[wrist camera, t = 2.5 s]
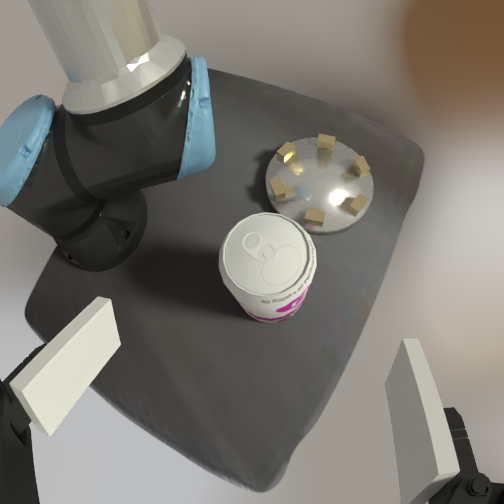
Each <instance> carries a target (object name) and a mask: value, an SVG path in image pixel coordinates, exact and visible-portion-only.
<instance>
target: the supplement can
mask: <svg viewBox="0 0 504 504" xmlns="http://www.w3.org/2000/svg"><path fill="white" fill-rule="evenodd" d="M315 269H316V249H315V247H314V245H313V242H312V240H311V238H310V235H309V234H308V233H307V232H306V231H305V230H304V229H303V228H302V227H301V226H300V225H299V224H298V223H297V222H295V221H293V220H291V219H289V218H287V217H285V216H283V215H281V214H275V213H268V212H265V213H260V214H254V215H251V216H249V217H247V218H245V219H244V220H242V221H240V222H239V223H238V224H236V225H235V226H234V228H233V229H232V230H231V231H230V232H229V233H228V234H227V235H226V237H225V239H224V241H223V244H222V246H221V248H220V251H219V270H220V273H221V276H222V279H223V282H224V284H225V285H226V286H227V288H228V289H229V290H230V292H231V293H232V294H233V296H234V297H235V298H236V300H237V301H238V302H239V304H240V305H241V306H242V307H243V309H244V310H245V311H246V312H247V313H248V315H250V316H251V317H253V318H255V319H256V320H258V321H261V322H267V323H275V322H280V321H284V320H286V319H287V318H289V317H291V316H292V315H294V314H295V312H296V311H297V310H298V309H299V307H300V306H301V304H302V302H303V300H304V298H305V295H306V293H307V291H308V288H309V286H310V284H311V281H312V278H313V275H314V272H315Z"/></svg>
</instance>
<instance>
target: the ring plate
mask: <svg viewBox="0 0 504 504" xmlns="http://www.w3.org/2000/svg"><path fill="white" fill-rule="evenodd" d="M266 191H267V196H268V199H269V202H270V204H271V206H272V208H273V209H274V211H275V212H276V213H277V214H281V215H283V216H285V217H287V218H289V219H291V220H293V221H295V222H297V223H298V224H299V225H300V226H301V227H302V228H303V229H304V230H305V231H306V232H307V233H310V234H316V235H330V234H336V233H340V232H342V231H345V230H347V229H349V228H351V227H352V226H354V225H355V224H356V223H358V222H359V220H360V219H361V218H362V217H363V216H364V214H365V213H366V211H367V209H368V207H369V205H370V203H371V200H372V196H373V181H372V176H371V173H370V168H369V166H368V164H367V162H366V161H365V159H364V157H363V156H359V155H358V154H357V153H356V152H354V151H353V150H352V149H351V148H349V147H347V146H346V145H344V144H342V143H340V142H337V141H335V137H334V136H328V135H323V134H319V138H315V137H313V138H304V139H300V140H296V141H294V142H291V143H289V142H287V143H285V144H284V145H283V146H282V147H281V148H280V149H279V150H278V151H277V153H276V154H275V155H274V157H273V158H272V159H271V161H270V163H269V165H268V168H267V172H266Z"/></svg>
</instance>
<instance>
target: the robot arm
mask: <svg viewBox="0 0 504 504" xmlns="http://www.w3.org/2000/svg"><path fill="white" fill-rule="evenodd" d="M28 1H29V3H30V5H31V8H32V9H33V12H34V14H35V16H36V18H37V20H38V22H39V24H40V26H41V28H42V30H43V32H44V34H45V36H46V38H47V40H48V42H49V44H50V46H51V48H52V49H53V51H54V53H55V55H56V57H57V59H58V61H59V63H60V64H61V66H62V68H63V70H64V72H65V74H66V75H67V77H68V82H67V85H66V88H65V91H64V94H63V97H62V104H61V105H59V106H56V105H55V102H54V100H53V99H52V98H49V97H47V96H46V95H45V96H44V95H36V96H33V97H31V98H29V99H27V100H26V101H25V102H23V103H22V104H21V105H20V106H18V107H17V108H16V109H15V110H14V111H13V112H12V113H11V114H10V115H9V117H8V118H7V119H6V120H5V122H4V123H3V124H2V126H1V127H0V205H1V206H3V207H7V208H8V209H10V210H12V211H13V212H14V213H16V214H17V215H19V216H21V217H22V218H24V219H25V220H27V221H28V222H30V223H31V224H33V225H34V226H36V227H37V228H39V229H41V230H42V231H44V232H45V233H47V234H49V235H50V236H52V237H53V239H54V240H55V242H56V243H57V245H58V246H59V248H60V249H61V251H62V252H63V254H64V255H65V257H66V258H67V259H68V260H69V261H71V262H72V263H73V264H75V265H77V266H79V267H81V268H83V269H85V270H88V271H104V270H107V269H110V268H112V267H114V266H116V265H118V264H119V263H121V262H122V261H124V260H125V259H126V258H127V257H128V256H129V255H130V254H131V253H132V252H133V250H134V249H135V248H136V246H137V245H138V243H139V241H140V240H141V238H142V235H143V233H144V230H145V226H146V222H147V206H146V202H145V199H144V196H143V194H142V193H141V191H140V190H139V189H142V188H146V187H150V186H154V185H158V184H162V183H166V182H170V181H174V180H180V179H181V178H182V177H185V176H188V175H191V174H194V173H198V172H201V171H204V170H206V169H207V168H208V167H209V166H211V164H212V163H213V161H214V159H215V154H216V150H215V136H214V126H213V116H212V108H211V103H210V102H211V99H210V88H209V80H208V72H207V65H206V61H205V59H204V58H203V57H195V56H190V57H189V58H187V54H186V51H185V47H184V45H183V43H182V42H181V41H180V40H178V39H176V38H173V37H170V36H168V35H165V34H163V33H162V32H161V31H160V28H159V25H158V22H157V18H156V15H155V13H154V9H153V6H152V3H151V0H28ZM120 345H121V343H120V339H119V335H118V331H117V326H116V322H115V317H114V313H113V308H112V303H111V299H107V298H103V297H97V298H96V299H95V300H94V301H93V302H92V303H91V304H90V305H88V306H87V307H86V308H85V309H84V310H83V311H82V312H81V313H80V314H79V315H78V316H77V317H76V318H74V319H73V320H72V321H71V322H70V323H69V324H68V325H67V326H66V327H65V328H64V329H63V330H62V331H61V332H60V333H59V334H58V335H57V336H56V337H55V338H54V339H53V340H52V341H51V342H50V343H48V344H46V343H45V344H43V345H41V346H39V347H37V348H36V349H35V350H34V351H33V352H32V353H31V354H30V355H29V357H26V359H24V361H23V363H21V364H20V365H19V366H18V367H17V368H16V369H15V370H14V371H13V372H12V373H11V374H10V375H9V376H8V377H7V378H6V379H5V380H4V381H3V382H2V381H1V380H0V504H40V502H39V496H38V490H37V484H36V477H35V470H34V462H33V453H32V440H31V430H30V427H29V424H30V422H31V421H32V422H33V424H34V425H35V427H36V428H37V430H39V431H41V432H42V433H44V434H46V435H47V436H49V437H51V435H52V434H53V432H54V431H55V430H56V428H57V427H58V426H59V424H60V423H61V422H62V420H63V419H64V417H65V416H66V415H67V414H68V412H69V411H70V410H71V408H72V407H73V406H74V404H75V403H76V402H77V400H78V399H79V398H80V396H81V395H82V394H83V392H84V391H85V390H86V388H87V387H88V386H89V385H90V383H91V382H92V381H93V379H94V378H95V377H96V375H97V374H98V373H99V372H100V370H101V369H102V368H103V367H104V365H105V364H106V363H107V361H108V360H109V359H110V358H111V356H112V355H113V354H114V353H115V351H116V350H117V349H118V348H119V346H120ZM385 388H386V393H387V399H388V405H389V410H390V416H391V423H392V429H393V435H394V443H395V450H396V458H397V467H398V476H399V486H400V497H401V504H425V503H426V502H427V501H429V504H504V484H502V483H493V482H490V480H489V478H488V477H487V476H485V475H484V474H482V473H479V472H478V469H477V466H476V462H475V459H474V455H473V452H472V448H471V445H470V442H469V439H468V435H467V432H466V430H465V426H464V422H463V420H462V417H461V415H460V414H459V413H458V412H457V411H456V409H455V408H454V407H453V408H443V407H442V404H441V400H440V397H439V394H438V391H437V388H436V385H435V382H434V380H433V377H432V374H431V371H430V368H429V366H428V363H427V360H426V357H425V355H424V352H423V349H422V347H421V344H420V342H419V339H407V338H403V339H402V341H401V344H400V347H399V350H398V352H397V355H396V358H395V360H394V363H393V365H392V368H391V370H390V373H389V375H388V377H387V380H386V382H385Z"/></svg>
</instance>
